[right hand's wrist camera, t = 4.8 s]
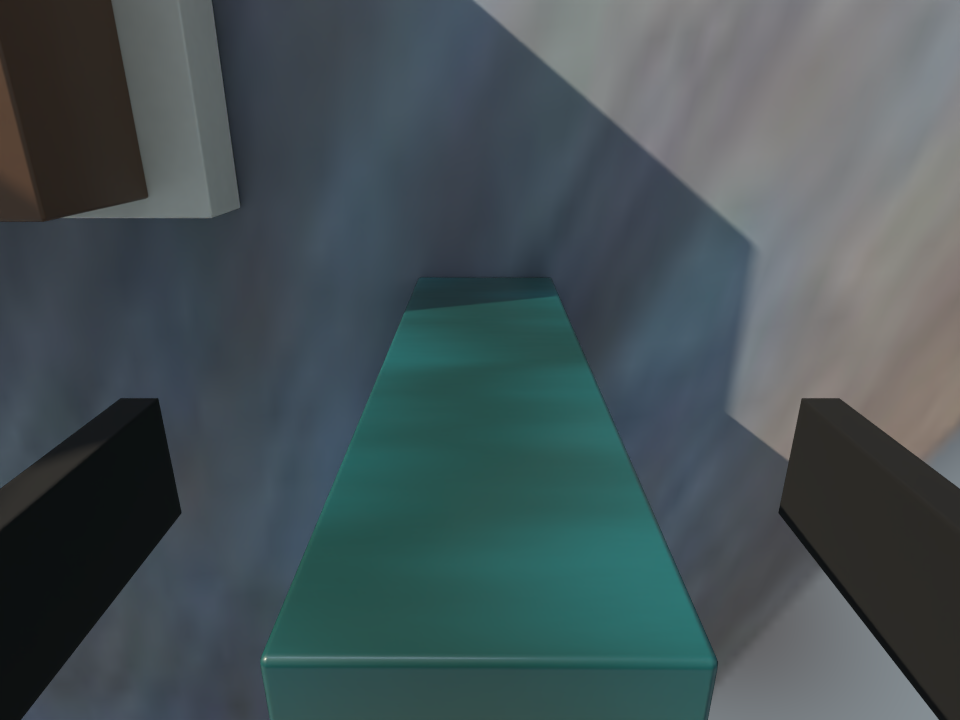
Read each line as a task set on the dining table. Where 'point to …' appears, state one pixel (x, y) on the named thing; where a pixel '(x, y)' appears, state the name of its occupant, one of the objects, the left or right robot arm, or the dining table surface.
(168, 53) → the peg board
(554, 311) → the peg
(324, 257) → the dining table surface
